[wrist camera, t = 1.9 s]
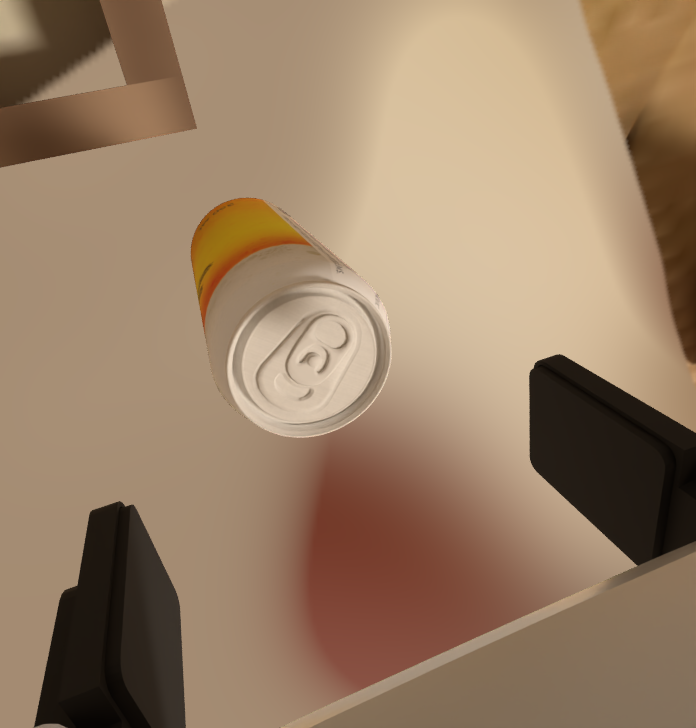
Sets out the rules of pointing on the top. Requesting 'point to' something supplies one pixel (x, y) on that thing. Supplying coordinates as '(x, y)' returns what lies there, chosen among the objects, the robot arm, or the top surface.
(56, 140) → the brown wooden slotted block
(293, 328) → the beer can
